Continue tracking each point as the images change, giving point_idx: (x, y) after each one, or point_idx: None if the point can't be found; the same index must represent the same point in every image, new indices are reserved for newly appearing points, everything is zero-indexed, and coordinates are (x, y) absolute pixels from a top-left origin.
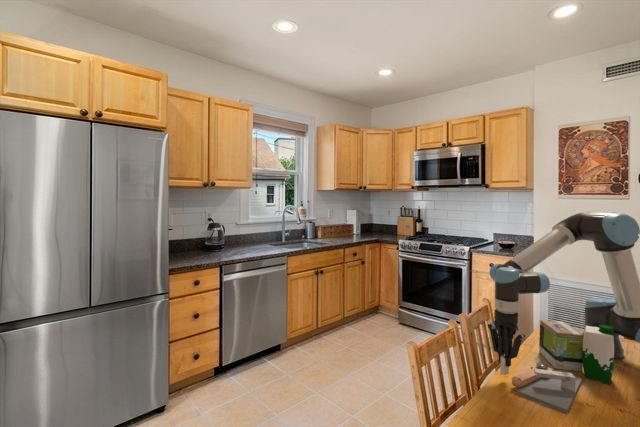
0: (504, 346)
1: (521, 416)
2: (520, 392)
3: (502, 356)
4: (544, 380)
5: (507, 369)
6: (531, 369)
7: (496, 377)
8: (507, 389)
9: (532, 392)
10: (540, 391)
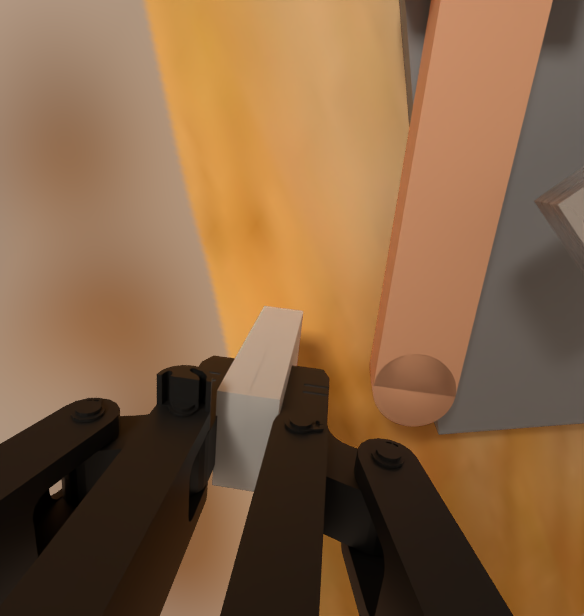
0: (164, 524)
1: (535, 605)
2: (461, 432)
3: (230, 477)
4: (561, 43)
5: (296, 347)
6: (441, 35)
7: (225, 312)
8: (360, 408)
9: (532, 370)
10: (579, 302)
